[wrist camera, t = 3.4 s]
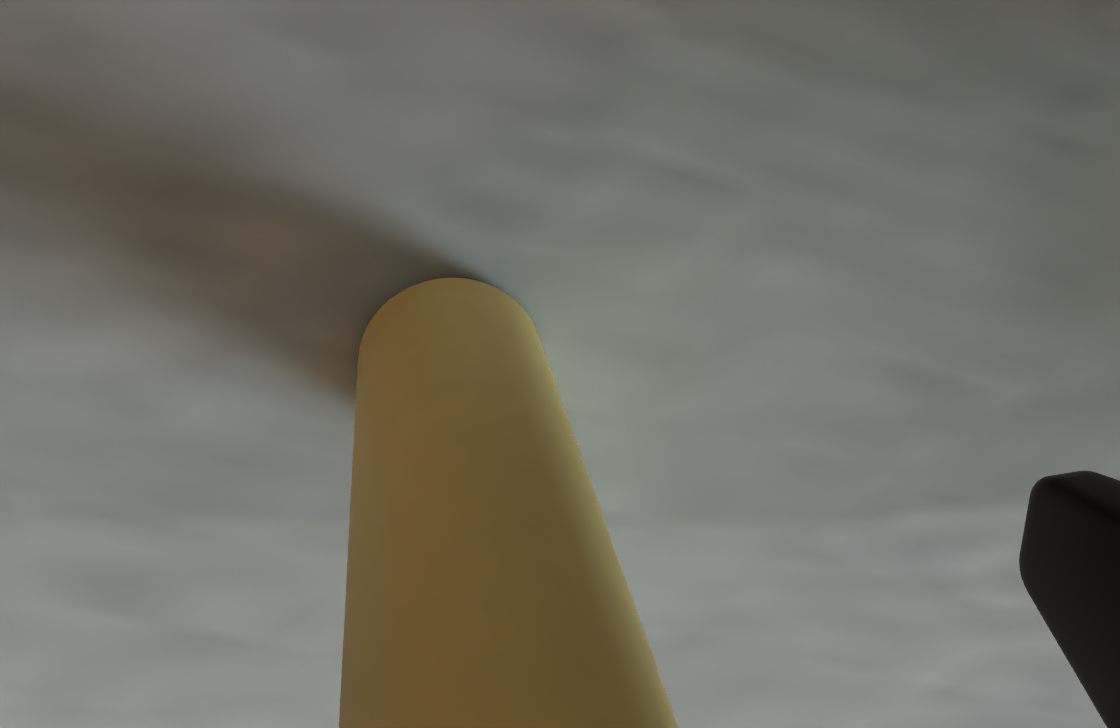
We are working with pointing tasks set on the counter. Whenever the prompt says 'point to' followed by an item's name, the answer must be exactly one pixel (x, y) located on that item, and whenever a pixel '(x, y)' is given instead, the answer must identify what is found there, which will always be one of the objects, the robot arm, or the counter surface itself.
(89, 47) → the counter surface
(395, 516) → the tan solid cylinder
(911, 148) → the counter surface
